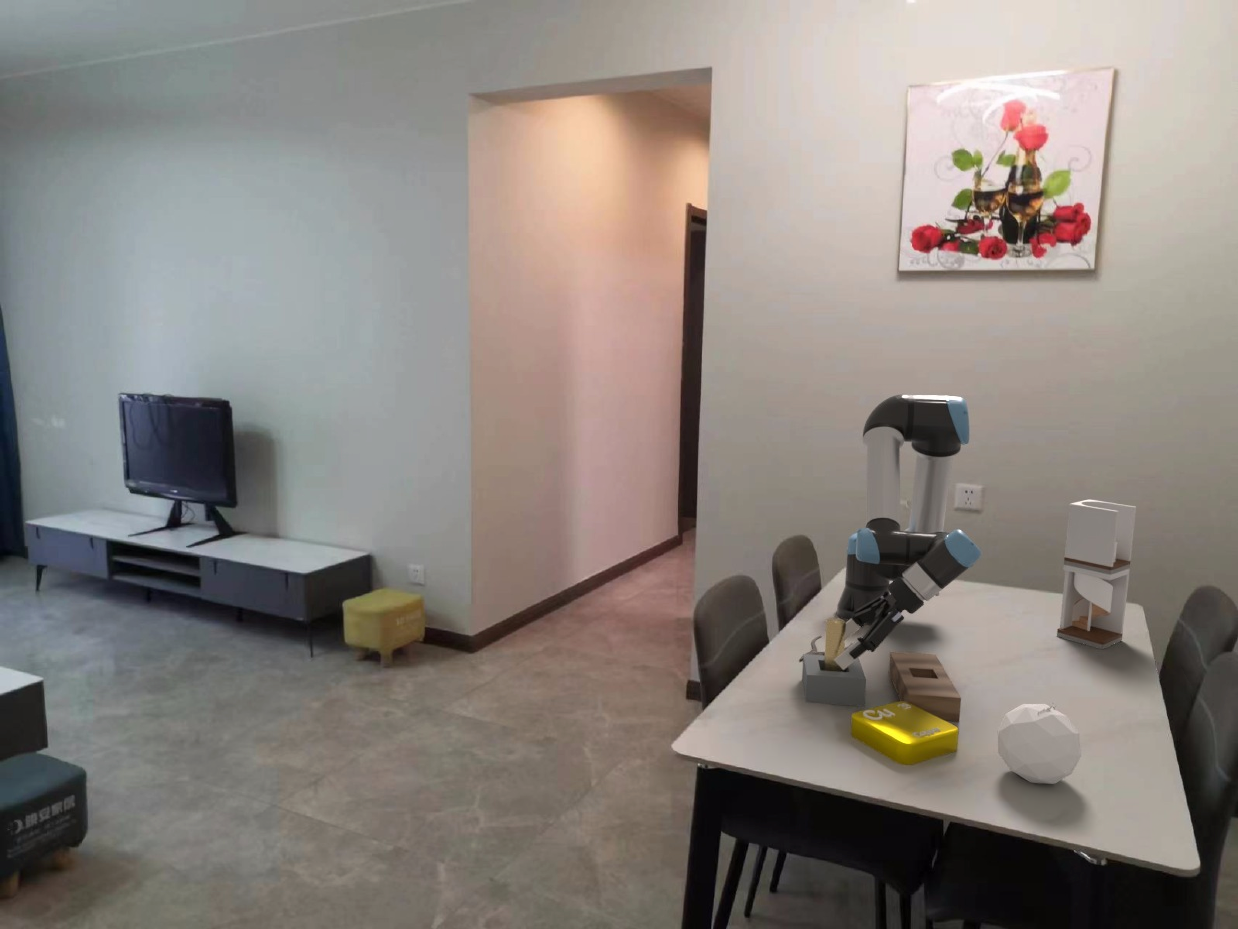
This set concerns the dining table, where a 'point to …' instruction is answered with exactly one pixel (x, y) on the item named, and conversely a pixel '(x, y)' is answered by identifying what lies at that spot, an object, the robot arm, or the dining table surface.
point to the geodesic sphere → (1039, 743)
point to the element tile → (904, 732)
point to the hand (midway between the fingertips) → (835, 653)
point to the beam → (925, 684)
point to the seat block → (833, 682)
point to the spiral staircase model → (1096, 572)
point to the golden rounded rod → (834, 643)
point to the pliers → (814, 649)
